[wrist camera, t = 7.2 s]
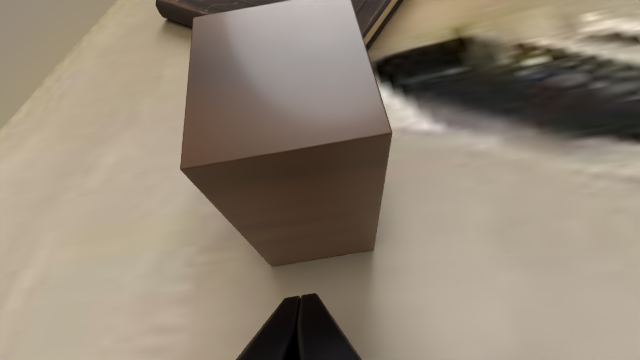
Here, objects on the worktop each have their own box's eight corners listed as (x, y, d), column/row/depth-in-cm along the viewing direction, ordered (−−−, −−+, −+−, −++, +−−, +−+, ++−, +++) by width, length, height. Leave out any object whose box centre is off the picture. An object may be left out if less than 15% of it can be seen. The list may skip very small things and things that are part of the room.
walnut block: (374, 249, 22) (392, 132, 10) (271, 266, 22) (179, 169, 11) (352, 151, 26) (348, -12, 14) (265, 166, 26) (192, 17, 14)
